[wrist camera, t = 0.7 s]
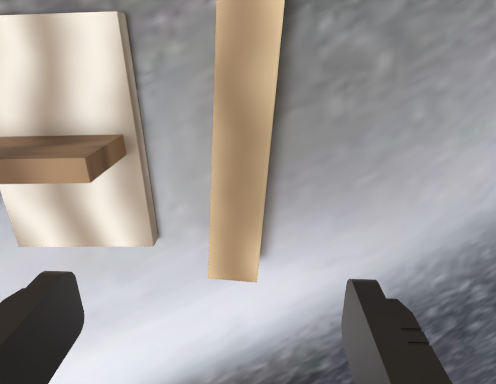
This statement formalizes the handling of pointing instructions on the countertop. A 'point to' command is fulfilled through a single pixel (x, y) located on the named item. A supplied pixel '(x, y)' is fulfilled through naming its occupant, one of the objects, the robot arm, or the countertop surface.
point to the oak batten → (242, 132)
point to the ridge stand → (72, 132)
